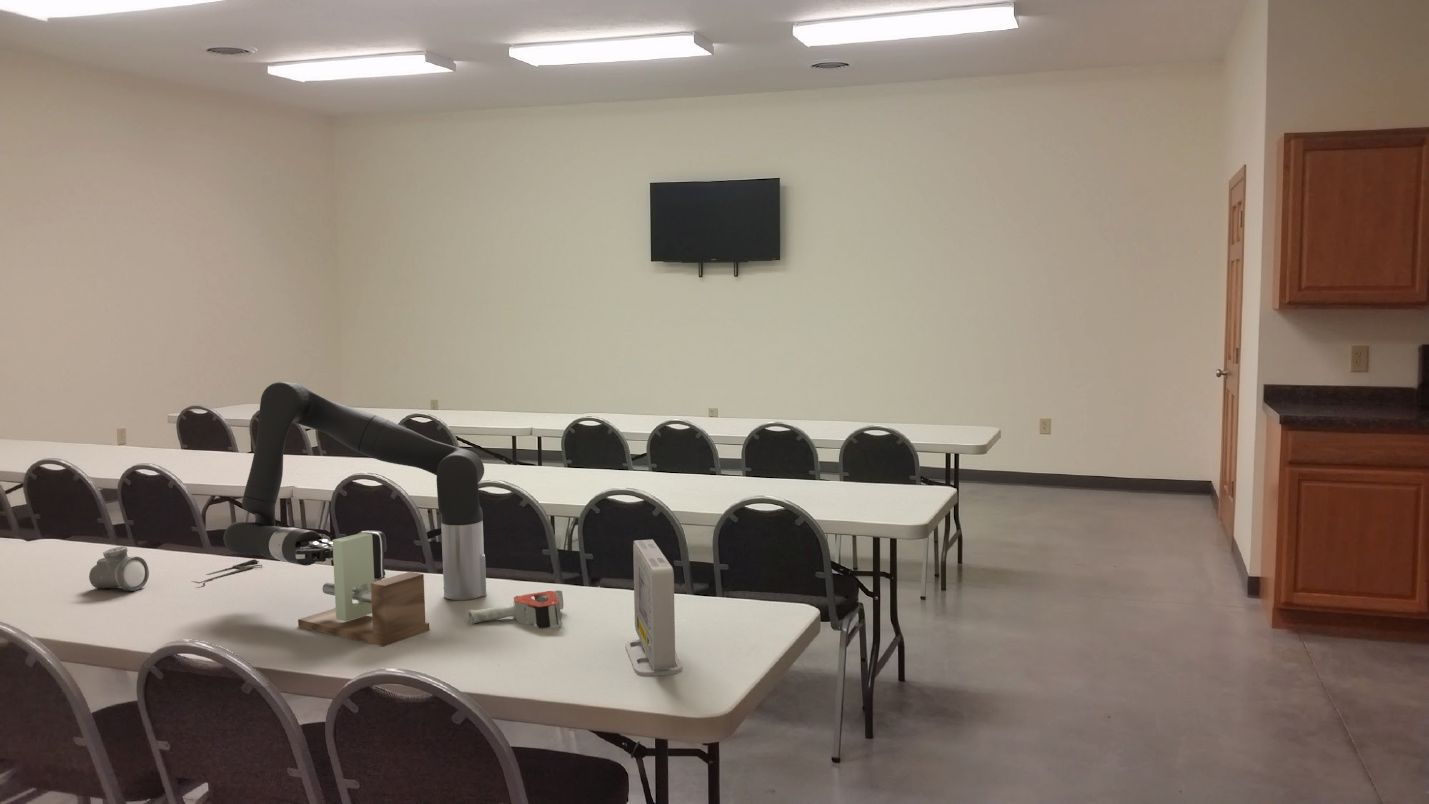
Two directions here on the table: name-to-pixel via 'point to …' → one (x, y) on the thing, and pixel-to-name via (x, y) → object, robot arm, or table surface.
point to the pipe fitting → (119, 571)
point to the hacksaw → (239, 566)
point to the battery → (378, 552)
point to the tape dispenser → (527, 610)
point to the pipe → (356, 592)
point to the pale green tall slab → (352, 574)
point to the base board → (381, 613)
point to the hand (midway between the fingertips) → (348, 555)
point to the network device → (653, 611)
